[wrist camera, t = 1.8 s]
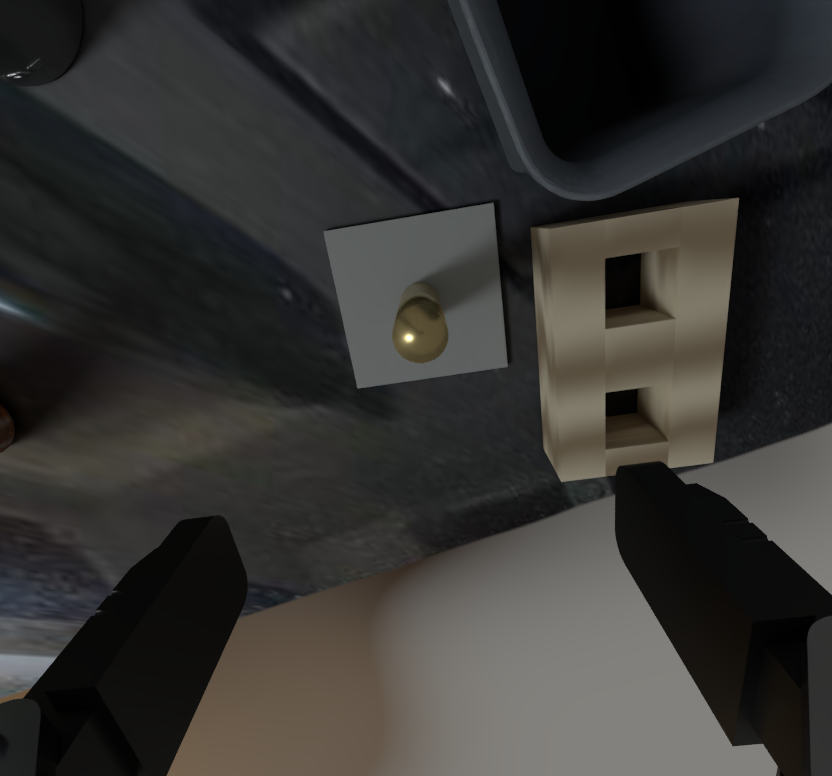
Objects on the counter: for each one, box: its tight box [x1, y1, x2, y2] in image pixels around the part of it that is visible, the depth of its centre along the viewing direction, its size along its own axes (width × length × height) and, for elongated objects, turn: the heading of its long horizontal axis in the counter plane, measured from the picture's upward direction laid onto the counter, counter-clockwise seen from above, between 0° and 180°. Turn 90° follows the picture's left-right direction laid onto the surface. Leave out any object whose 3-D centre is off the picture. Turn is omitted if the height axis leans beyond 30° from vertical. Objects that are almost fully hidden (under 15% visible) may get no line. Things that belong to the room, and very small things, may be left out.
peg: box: [392, 282, 449, 363], centre depth 28 cm, size 3×3×10 cm
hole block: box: [531, 198, 739, 482], centre depth 32 cm, size 18×11×5 cm, turn 9°
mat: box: [323, 203, 508, 388], centre depth 33 cm, size 12×12×1 cm
